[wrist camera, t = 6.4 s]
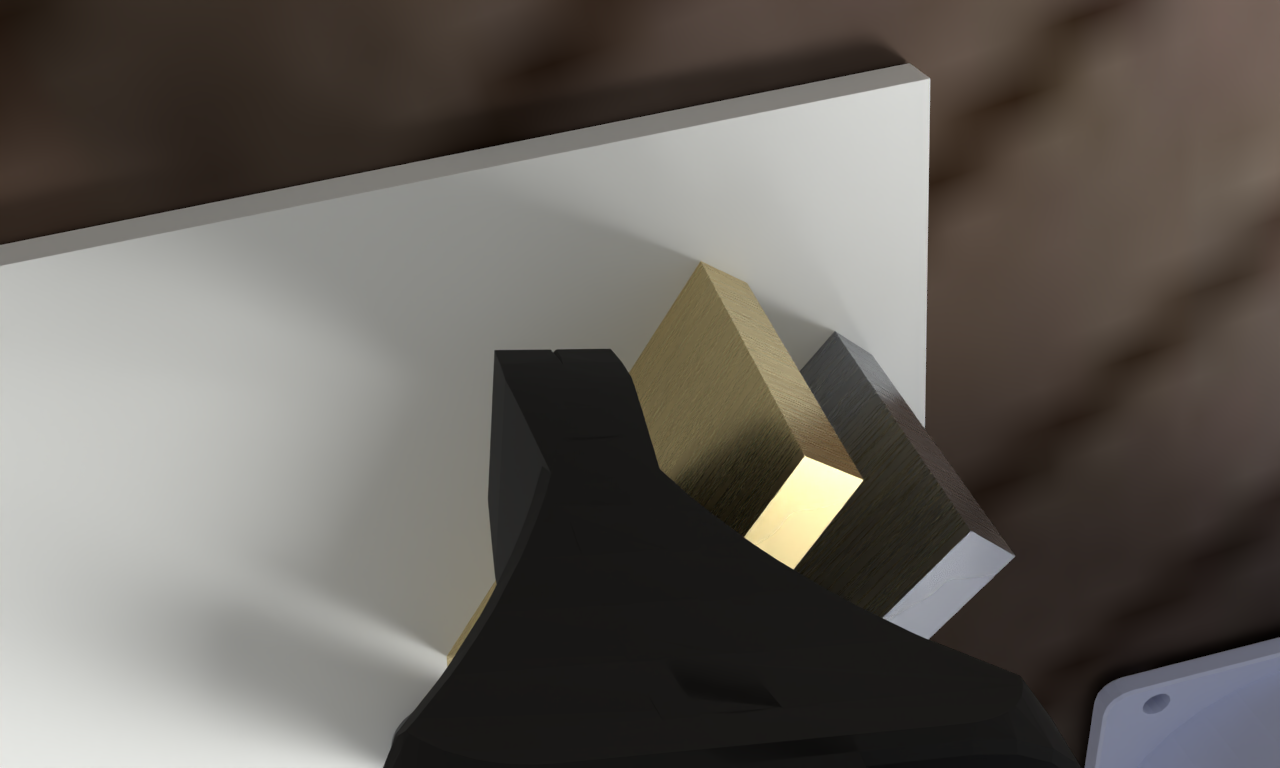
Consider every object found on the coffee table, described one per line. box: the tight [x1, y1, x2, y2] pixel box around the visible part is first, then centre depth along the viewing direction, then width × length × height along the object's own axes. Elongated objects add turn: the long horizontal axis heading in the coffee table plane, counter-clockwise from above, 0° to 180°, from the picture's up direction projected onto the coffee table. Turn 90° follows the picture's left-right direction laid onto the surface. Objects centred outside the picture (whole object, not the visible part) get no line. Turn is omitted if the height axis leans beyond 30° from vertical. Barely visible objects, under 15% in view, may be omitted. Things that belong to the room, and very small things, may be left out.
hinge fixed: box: [391, 331, 1015, 746], centre depth 14 cm, size 2×10×5 cm, turn 145°
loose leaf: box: [447, 261, 863, 667], centre depth 13 cm, size 7×1×4 cm, turn 150°
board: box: [0, 63, 930, 768], centre depth 15 cm, size 15×12×1 cm
